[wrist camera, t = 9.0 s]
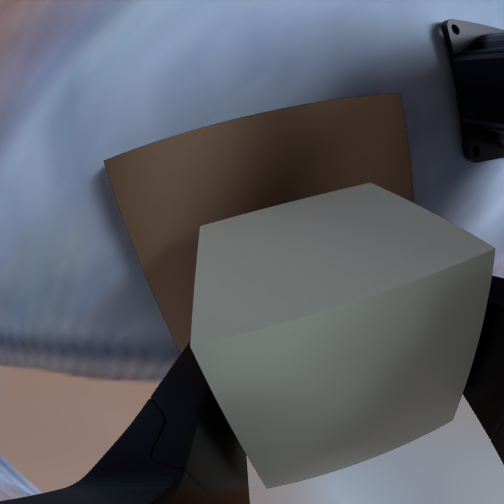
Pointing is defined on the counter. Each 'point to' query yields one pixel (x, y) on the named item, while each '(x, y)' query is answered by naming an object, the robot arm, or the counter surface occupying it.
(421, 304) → the cube
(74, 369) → the counter surface
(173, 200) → the brown square tile
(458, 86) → the robot arm
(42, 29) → the counter surface
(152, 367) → the counter surface
